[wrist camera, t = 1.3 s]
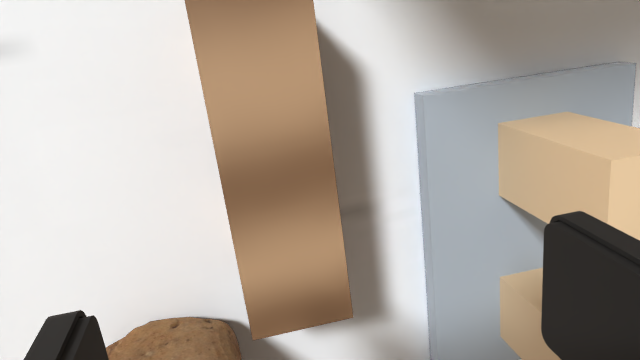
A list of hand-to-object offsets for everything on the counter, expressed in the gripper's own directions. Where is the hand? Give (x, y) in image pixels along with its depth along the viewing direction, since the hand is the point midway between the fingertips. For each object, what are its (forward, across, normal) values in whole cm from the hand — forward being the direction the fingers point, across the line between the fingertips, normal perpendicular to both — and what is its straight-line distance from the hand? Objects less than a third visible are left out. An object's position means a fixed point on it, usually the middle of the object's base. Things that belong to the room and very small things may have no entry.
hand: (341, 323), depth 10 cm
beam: (+16, 0, 0) cm, 16 cm away
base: (+16, -14, +7) cm, 22 cm away
